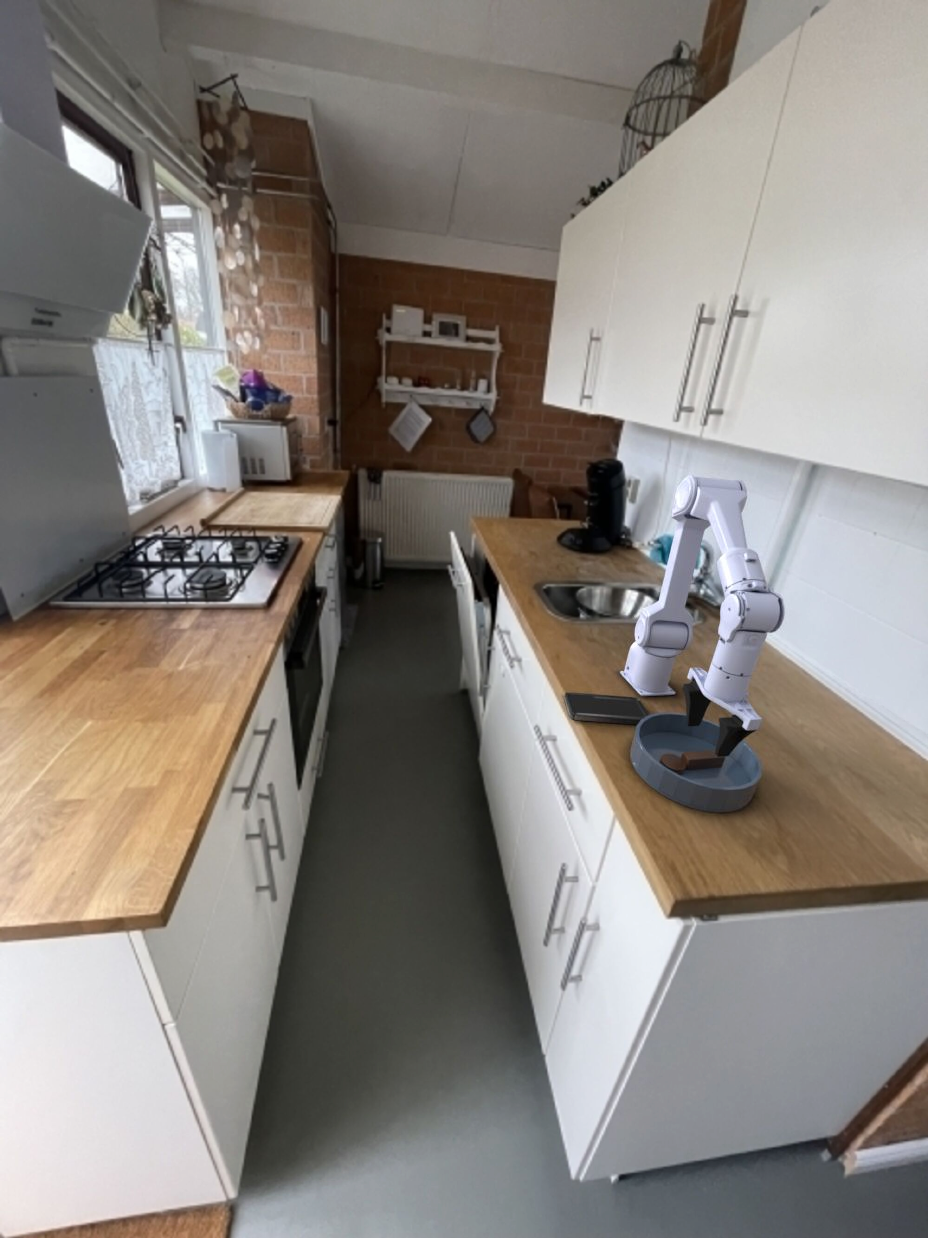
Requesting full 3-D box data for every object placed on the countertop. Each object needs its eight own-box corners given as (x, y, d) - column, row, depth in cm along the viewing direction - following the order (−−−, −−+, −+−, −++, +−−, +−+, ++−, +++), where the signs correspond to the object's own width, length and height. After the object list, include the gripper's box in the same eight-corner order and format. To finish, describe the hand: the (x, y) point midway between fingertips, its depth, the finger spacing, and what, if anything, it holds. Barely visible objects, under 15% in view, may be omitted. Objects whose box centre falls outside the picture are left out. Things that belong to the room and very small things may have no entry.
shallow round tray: (609, 735, 91) (615, 715, 89) (704, 729, 95) (711, 709, 94) (670, 818, 74) (678, 795, 72) (781, 806, 78) (791, 784, 77)
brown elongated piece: (667, 776, 82) (671, 765, 81) (654, 760, 85) (657, 749, 84) (726, 771, 84) (730, 761, 83) (710, 755, 88) (714, 745, 87)
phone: (651, 721, 94) (571, 714, 94) (650, 726, 95) (570, 719, 94) (638, 697, 102) (564, 691, 101) (637, 702, 102) (563, 696, 102)
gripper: (791, 692, 71) (759, 768, 77) (723, 643, 84) (700, 712, 90) (748, 694, 70) (719, 771, 76) (686, 644, 83) (665, 714, 88)
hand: (706, 739), depth 83 cm, fingers open, 7 cm apart
